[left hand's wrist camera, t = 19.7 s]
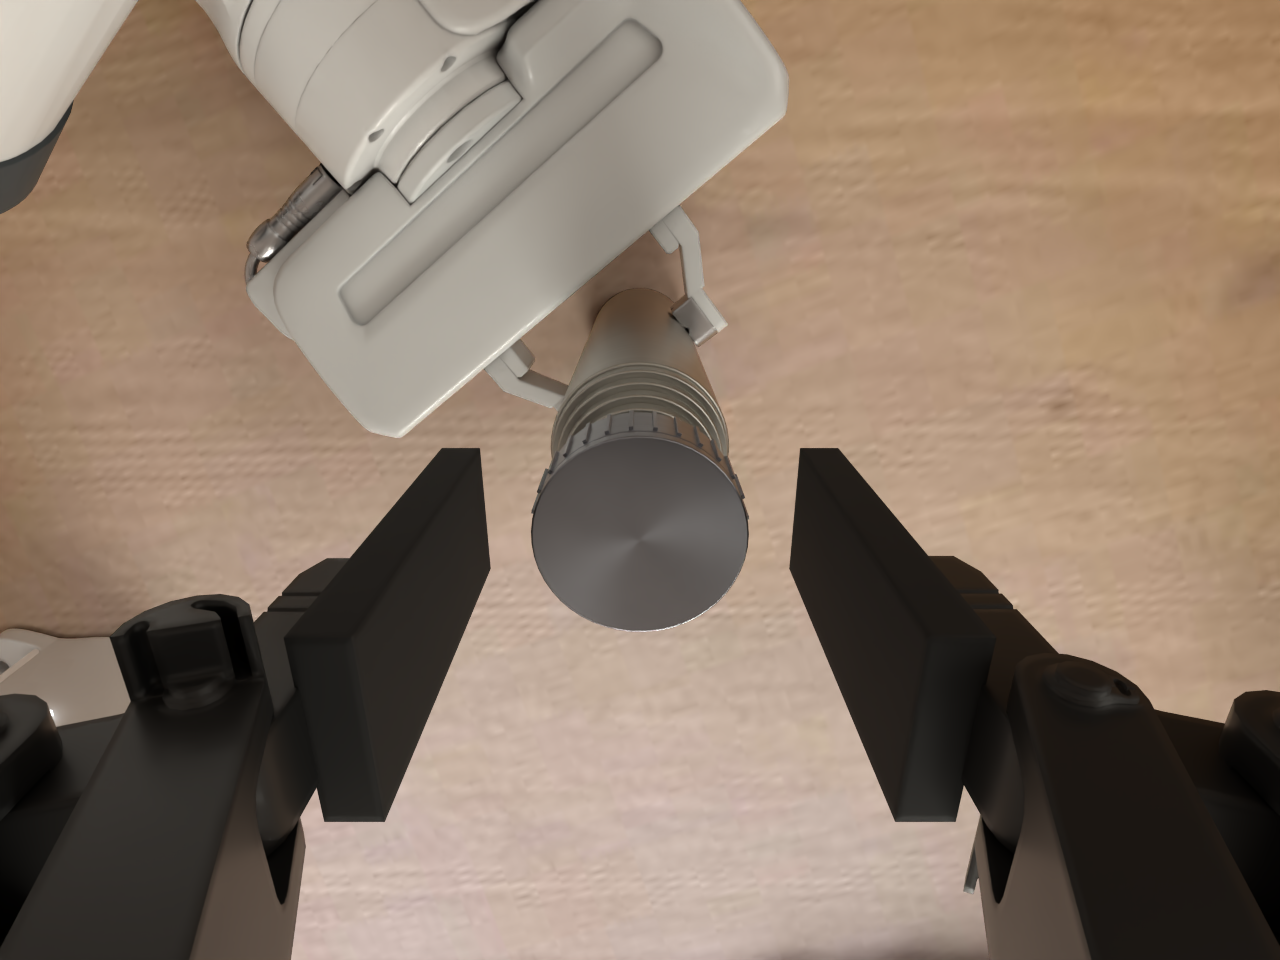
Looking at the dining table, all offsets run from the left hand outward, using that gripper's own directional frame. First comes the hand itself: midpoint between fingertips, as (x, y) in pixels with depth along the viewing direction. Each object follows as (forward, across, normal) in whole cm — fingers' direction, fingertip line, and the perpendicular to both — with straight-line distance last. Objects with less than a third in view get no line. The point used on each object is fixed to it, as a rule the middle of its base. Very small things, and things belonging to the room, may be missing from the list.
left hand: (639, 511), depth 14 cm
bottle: (+21, 0, 0) cm, 21 cm away
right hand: (+15, -1, +1) cm, 15 cm away
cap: (-1, 0, 0) cm, 1 cm away
